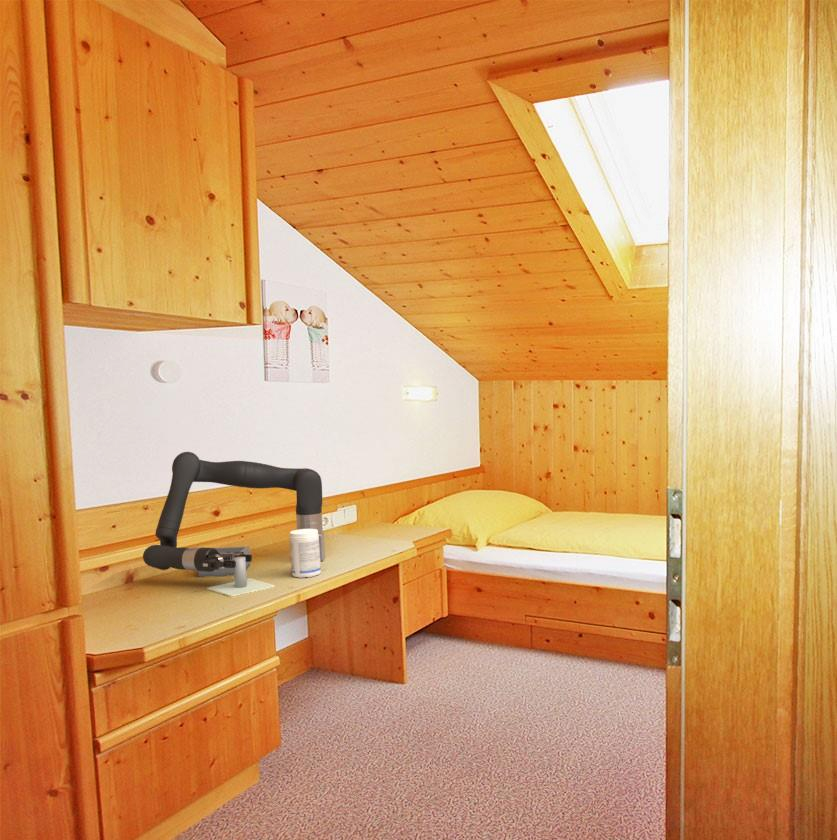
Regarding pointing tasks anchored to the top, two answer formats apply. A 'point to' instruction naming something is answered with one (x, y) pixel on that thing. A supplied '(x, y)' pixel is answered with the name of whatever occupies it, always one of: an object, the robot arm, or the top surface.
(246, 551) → the parts box
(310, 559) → the supplement tub
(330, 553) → the top surface
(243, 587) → the lid
